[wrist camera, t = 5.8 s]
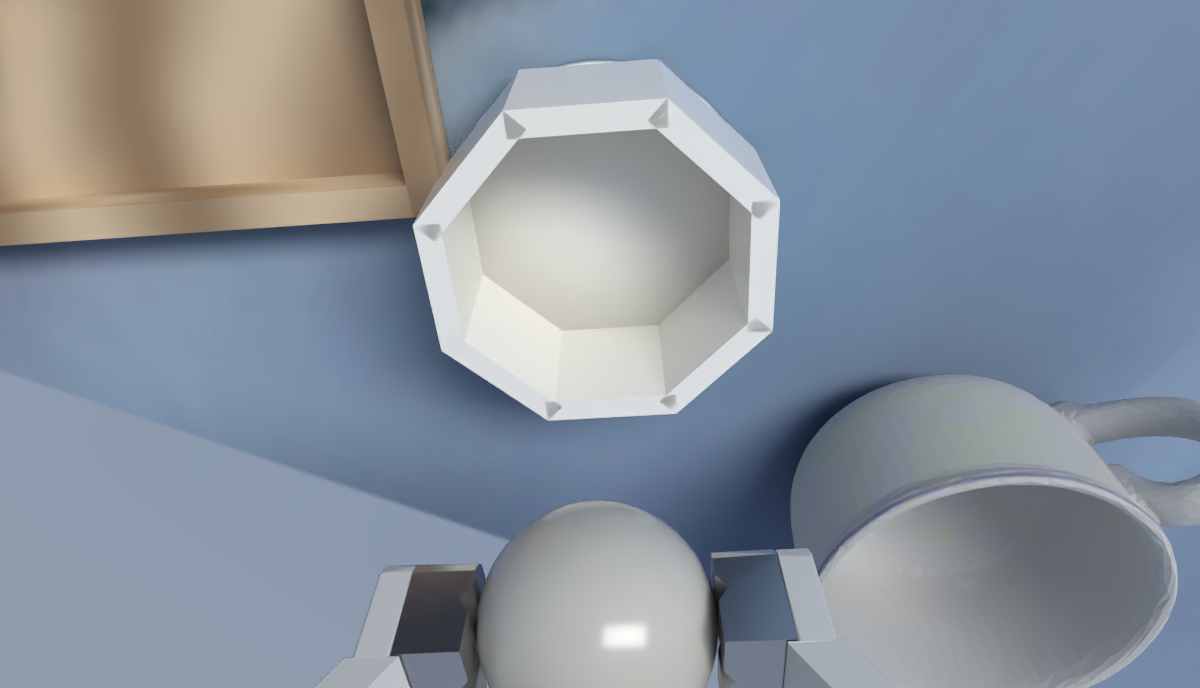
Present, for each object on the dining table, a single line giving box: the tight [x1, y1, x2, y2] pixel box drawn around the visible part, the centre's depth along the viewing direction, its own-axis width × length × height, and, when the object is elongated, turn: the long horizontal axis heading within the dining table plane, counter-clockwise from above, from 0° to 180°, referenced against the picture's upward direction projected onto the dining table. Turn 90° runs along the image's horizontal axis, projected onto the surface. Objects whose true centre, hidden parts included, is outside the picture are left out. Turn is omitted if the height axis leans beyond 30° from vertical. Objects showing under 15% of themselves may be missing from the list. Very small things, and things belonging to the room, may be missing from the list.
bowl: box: [413, 59, 780, 421], centre depth 22 cm, size 9×9×5 cm
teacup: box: [790, 374, 1200, 688], centre depth 26 cm, size 14×11×8 cm
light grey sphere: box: [476, 501, 718, 688], centre depth 11 cm, size 4×4×4 cm
